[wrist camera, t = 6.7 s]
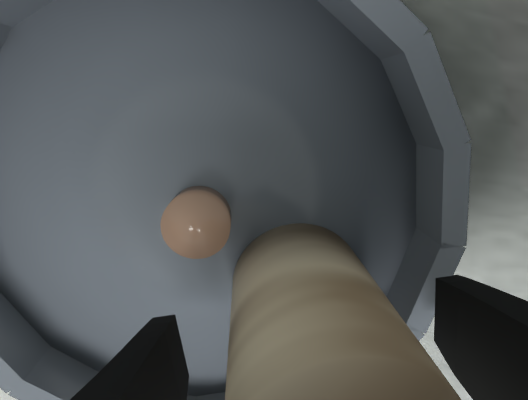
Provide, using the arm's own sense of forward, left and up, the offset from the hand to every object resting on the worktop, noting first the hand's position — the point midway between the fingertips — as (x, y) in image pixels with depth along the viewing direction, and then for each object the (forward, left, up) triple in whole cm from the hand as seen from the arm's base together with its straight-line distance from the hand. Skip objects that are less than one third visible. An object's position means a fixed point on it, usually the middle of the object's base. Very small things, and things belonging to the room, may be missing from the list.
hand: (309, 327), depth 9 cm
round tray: (+4, 0, -3) cm, 5 cm away
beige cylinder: (0, 0, -2) cm, 2 cm away
